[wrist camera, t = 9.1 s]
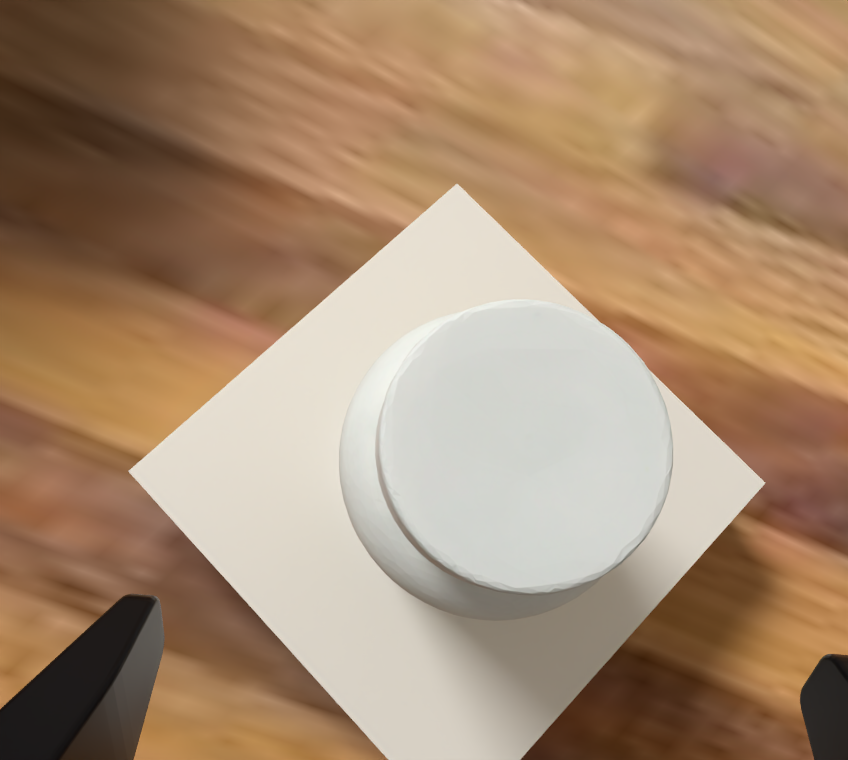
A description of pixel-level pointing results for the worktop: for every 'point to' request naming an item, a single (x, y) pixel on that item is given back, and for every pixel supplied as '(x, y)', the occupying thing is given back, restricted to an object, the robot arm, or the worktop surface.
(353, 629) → the podium
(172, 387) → the worktop surface
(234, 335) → the worktop surface
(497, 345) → the supplement bottle
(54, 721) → the robot arm
